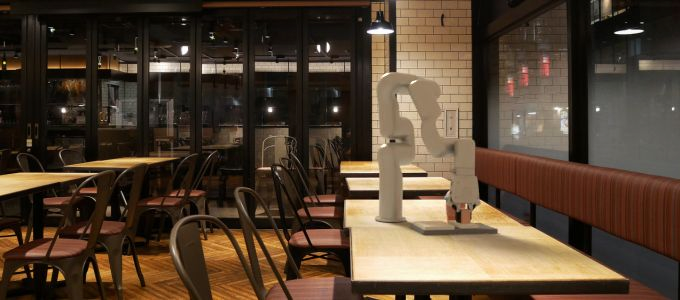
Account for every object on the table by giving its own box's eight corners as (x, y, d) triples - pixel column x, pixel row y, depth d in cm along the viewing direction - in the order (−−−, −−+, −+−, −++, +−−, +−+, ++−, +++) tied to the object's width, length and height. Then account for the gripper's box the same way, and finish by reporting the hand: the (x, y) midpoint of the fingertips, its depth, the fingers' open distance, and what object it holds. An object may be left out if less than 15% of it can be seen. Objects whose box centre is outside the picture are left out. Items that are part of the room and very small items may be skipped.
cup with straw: (439, 222, 244) (440, 177, 243) (457, 220, 248) (458, 177, 247) (452, 225, 236) (453, 179, 235) (471, 224, 240) (472, 178, 239)
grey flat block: (410, 228, 227) (410, 221, 227) (480, 226, 233) (480, 219, 233) (423, 234, 213) (423, 227, 213) (497, 233, 218) (497, 225, 218)
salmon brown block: (448, 223, 229) (448, 207, 228) (465, 223, 230) (466, 207, 230) (460, 228, 217) (460, 211, 217) (478, 228, 218) (479, 211, 218)
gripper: (446, 173, 218) (445, 224, 218) (489, 173, 221) (488, 223, 221) (439, 171, 225) (438, 221, 225) (480, 171, 228) (480, 220, 228)
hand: (463, 221), depth 223 cm, fingers closed on salmon brown block, 3 cm apart
